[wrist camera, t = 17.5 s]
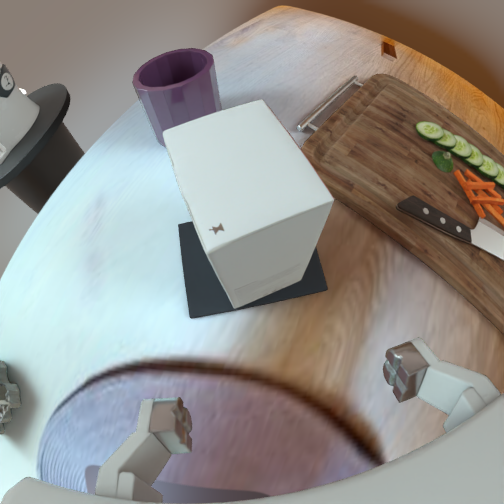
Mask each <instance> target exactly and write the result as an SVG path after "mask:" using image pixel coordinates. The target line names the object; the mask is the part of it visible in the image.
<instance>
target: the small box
mask: <svg viewBox="0 0 504 504" xmlns="http://www.w3.org/2000/svg"><path fill="white" fill-rule="evenodd" d="M163 138H164V142H165V145H166V148H167V151H168V154H169V158H170V161H171V164H172V167H173V170H174V173H175V177H176V180H177V183H178V186H179V189H180V191H181V195H182V197H183V199H184V201H185V204H186V206H187V208H188V211H189V214H190V216H191V219H192V221H193V224H194V226H195V229H196V231H197V234H198V236H199V239H200V241H201V244H202V246H203V249H204V251H205V253H206V255H207V257H208V259H209V261H210V263H211V265H212V267H213V269H214V271H215V273H216V275H217V277H218V279H219V281H220V282H221V284H222V286H223V288H224V290H225V291H226V293H227V295H228V298H229V300H230V302H231V304H232V306H233V308H234V309H236V308H238V307H241V306H243V305H245V304H248V303H250V302H252V301H255V300H257V299H259V298H262V297H264V296H266V295H269V294H271V293H273V292H276V291H278V290H280V289H282V288H285V287H287V286H289V285H292V284H294V283H296V282H298V281H300V280H301V279H302V277H303V275H304V272H305V270H306V268H307V266H308V263H309V261H310V259H311V256H312V254H313V251H314V249H315V247H316V244H317V242H318V239H319V237H320V234H321V232H322V230H323V227H324V225H325V222H326V220H327V217H328V215H329V212H330V210H331V207H332V205H333V202H334V197H333V196H332V194H331V193H330V191H329V189H328V188H327V186H326V185H325V183H324V182H323V181H322V179H321V178H320V176H319V175H318V173H317V172H316V170H315V169H314V167H313V166H312V164H311V163H310V161H309V160H308V159H307V157H306V156H305V154H304V153H303V152H302V150H301V149H300V148H299V146H298V145H297V143H296V142H295V141H294V139H293V138H292V137H291V135H290V134H289V132H288V131H287V130H286V128H285V127H284V126H283V125H282V123H281V122H280V121H279V119H278V118H277V117H276V116H275V114H274V113H273V112H272V110H271V109H270V108H269V107H268V105H267V104H266V103H265V102H264V100H257V101H253V102H249V103H246V104H242V105H239V106H235V107H232V108H229V109H225V110H222V111H219V112H216V113H212V114H209V115H206V116H203V117H201V118H198V119H195V120H192V121H189V122H186V123H184V124H181V125H178V126H176V127H173V128H170V129H167V130H165V131H163Z"/></svg>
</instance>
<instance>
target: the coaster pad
mask: <svg viewBox="0 0 504 504" xmlns="http://www.w3.org/2000/svg"><path fill="white" fill-rule="evenodd" d="M178 227H179V237H180V246H181V255H182V264H183V272H184V279H185V287H186V294H187V301H188V308H189V315H190V318H197V317H202V316H208V315H213V314H219V313H224V312H229V311H234V310H240V309H245V308H250V307H254V306H259V305H264V304H269V303H274V302H278V301H283V300H287V299H292V298H296V297H301V296H305V295H309V294H313V293H318V292H322V291H326V290H327V289H328V288H327V285H326V281H325V277H324V274H323V270H322V267H321V263H320V260H319V257H318V253H317V250H316V247H315V249H314V251H313V254H312V256H311V259H310V261H309V263H308V266H307V268H306V270H305V272H304V275H303V277H302V279H301V280H300V281H298V282H296V283H294V284H292V285H289V286H287V287H285V288H282V289H280V290H278V291H276V292H273V293H271V294H269V295H266V296H264V297H262V298H259V299H257V300H255V301H252V302H250V303H248V304H245V305H243V306H241V307H238V308H236V309H234V308H233V306H232V304H231V302H230V300H229V298H228V295H227V293H226V291H225V290H224V288H223V286H222V284H221V282H220V281H219V279H218V277H217V275H216V273H215V271H214V269H213V267H212V265H211V263H210V261H209V259H208V257H207V255H206V253H205V251H204V249H203V246H202V244H201V241H200V239H199V236H198V234H197V231H196V229H195V226H194V224H193V221H192V222H187V223H183V224H178Z"/></svg>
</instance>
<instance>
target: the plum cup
mask: <svg viewBox="0 0 504 504" xmlns="http://www.w3.org/2000/svg"><path fill="white" fill-rule="evenodd" d="M133 85H134V88H135V91H136V93H137V95H138V98H139V100H140V103H141V105H142V108H143V110H144V112H145V115H146V117H147V120H148V122H149V124H150V127H151V129H152V131H153V134H154V135H155V137H156V139H157V141H158V142H159V143H160V144H161V145H162V146H164V147H166V145H165V142H164V138H163V131H165V130H167V129H170V128H173V127H176V126H178V125H181V124H184V123H186V122H189V121H192V120H195V119H198V118H201V117H203V116H206V115H209V114H212V113H216V112H219V111H222V110H221V103H220V97H219V91H218V84H217V78H216V71H215V64H214V59H213V56H212V55H211V54H210V53H208V52H207V51H205V50H200V49H195V48H189V49H178V50H174V51H170V52H166V53H164V54H161V55H159V56H157V57H155V58H153V59H151V60H149V61H148V62H146V63H145V64H144V65H142V66H141V67H140V68H139V69H138V70H137V72H136V73H135V74H134V77H133Z"/></svg>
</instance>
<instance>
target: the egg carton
mask: <svg viewBox="0 0 504 504" xmlns="http://www.w3.org/2000/svg"><path fill="white" fill-rule="evenodd" d="M6 370H7V367H6V365H5V362H4V361H0V434H3V433H4V431H5V430H4V427H3V423H6V422H10V421H11V418H12V415H11V408H19V407H20V406H21V401H20V396H19V394H20V391H19V388H18V387H17V384H10V382H9V380H8V378H7V372H6Z"/></svg>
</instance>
